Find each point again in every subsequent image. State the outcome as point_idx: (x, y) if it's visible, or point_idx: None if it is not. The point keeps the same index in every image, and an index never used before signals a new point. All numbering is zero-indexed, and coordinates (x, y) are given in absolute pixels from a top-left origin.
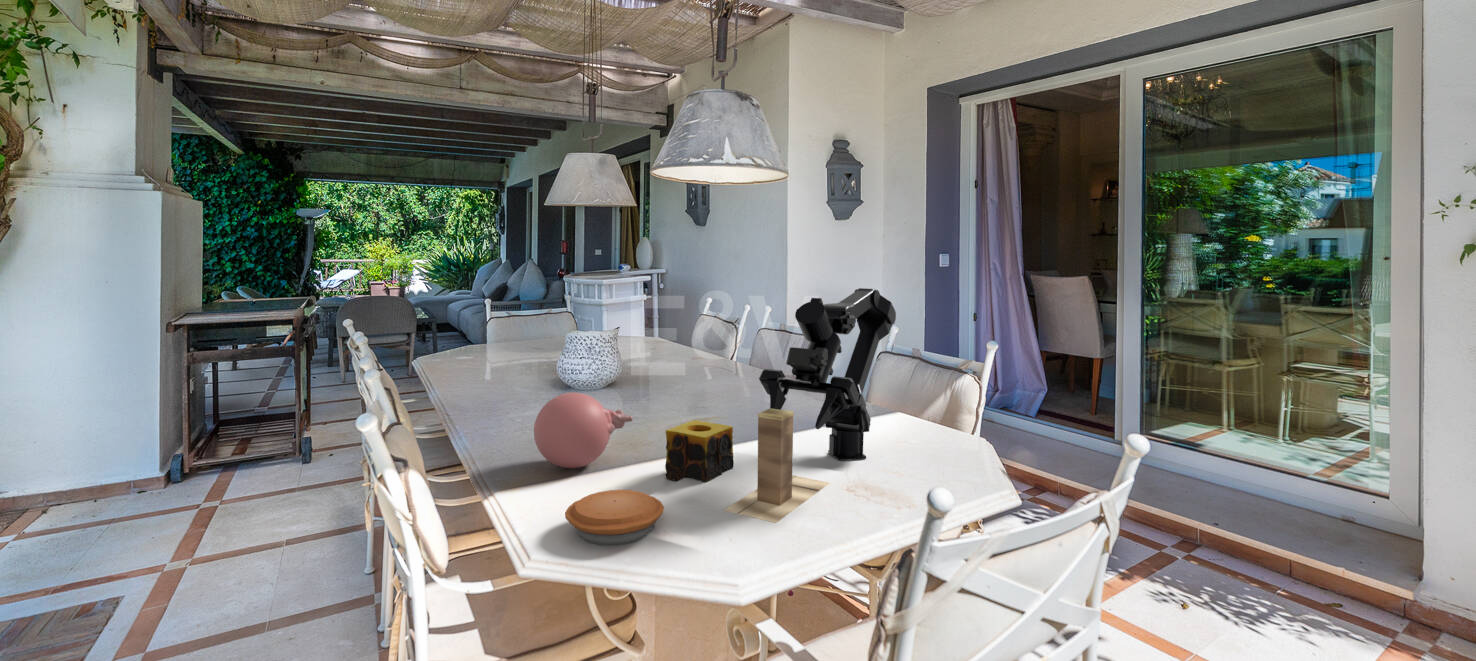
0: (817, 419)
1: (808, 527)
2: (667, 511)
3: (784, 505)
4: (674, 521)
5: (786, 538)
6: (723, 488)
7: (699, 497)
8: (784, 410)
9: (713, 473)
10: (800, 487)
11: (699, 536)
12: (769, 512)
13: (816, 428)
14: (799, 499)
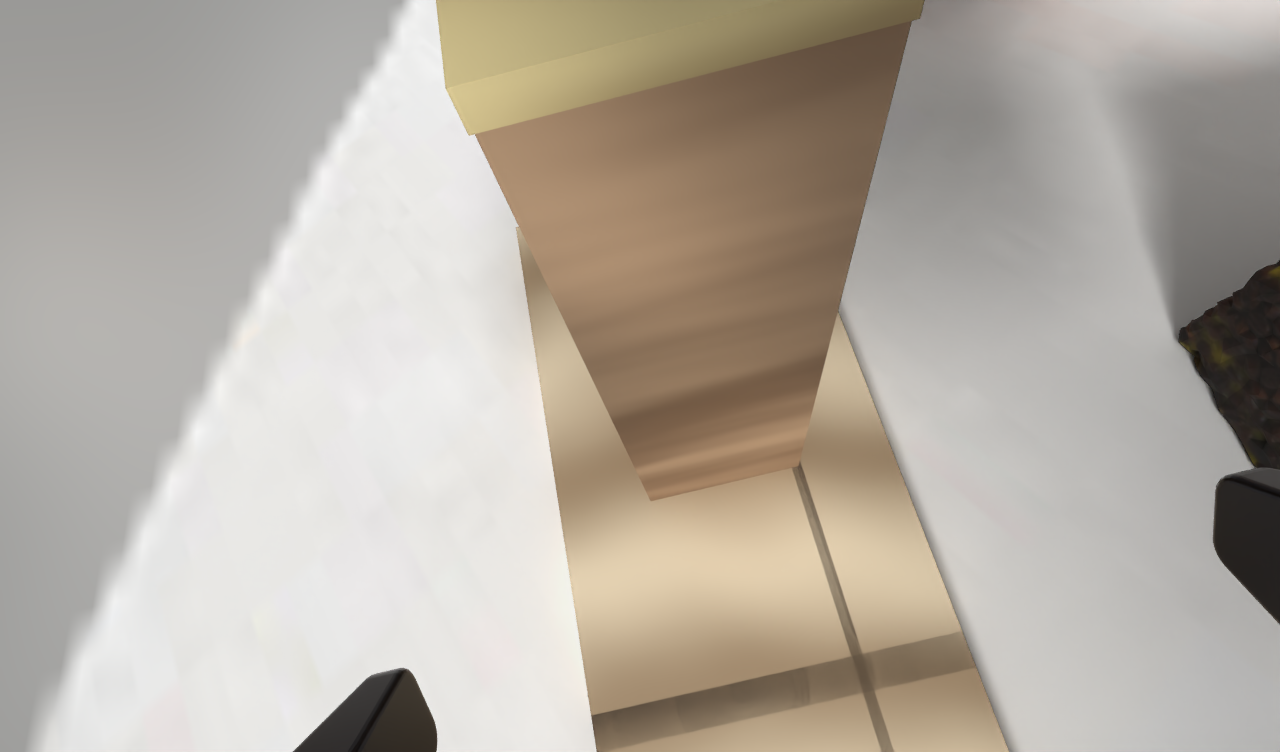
0: (343, 742)
1: (432, 355)
2: (990, 66)
3: None
4: None
5: (450, 226)
6: (1119, 410)
7: (1064, 239)
8: (626, 31)
9: (1268, 374)
10: (727, 692)
11: None
12: None
13: (421, 707)
14: (599, 510)
